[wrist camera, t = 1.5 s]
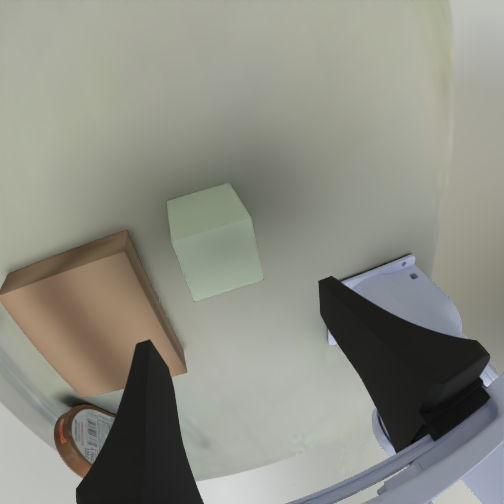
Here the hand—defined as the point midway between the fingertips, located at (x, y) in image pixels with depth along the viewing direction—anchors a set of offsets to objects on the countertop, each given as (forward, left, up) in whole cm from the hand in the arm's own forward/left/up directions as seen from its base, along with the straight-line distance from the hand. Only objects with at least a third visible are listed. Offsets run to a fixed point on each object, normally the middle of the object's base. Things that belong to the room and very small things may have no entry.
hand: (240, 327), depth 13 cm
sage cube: (0, 0, -10) cm, 10 cm away
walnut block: (+10, +5, -10) cm, 15 cm away
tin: (+16, +20, -10) cm, 27 cm away
